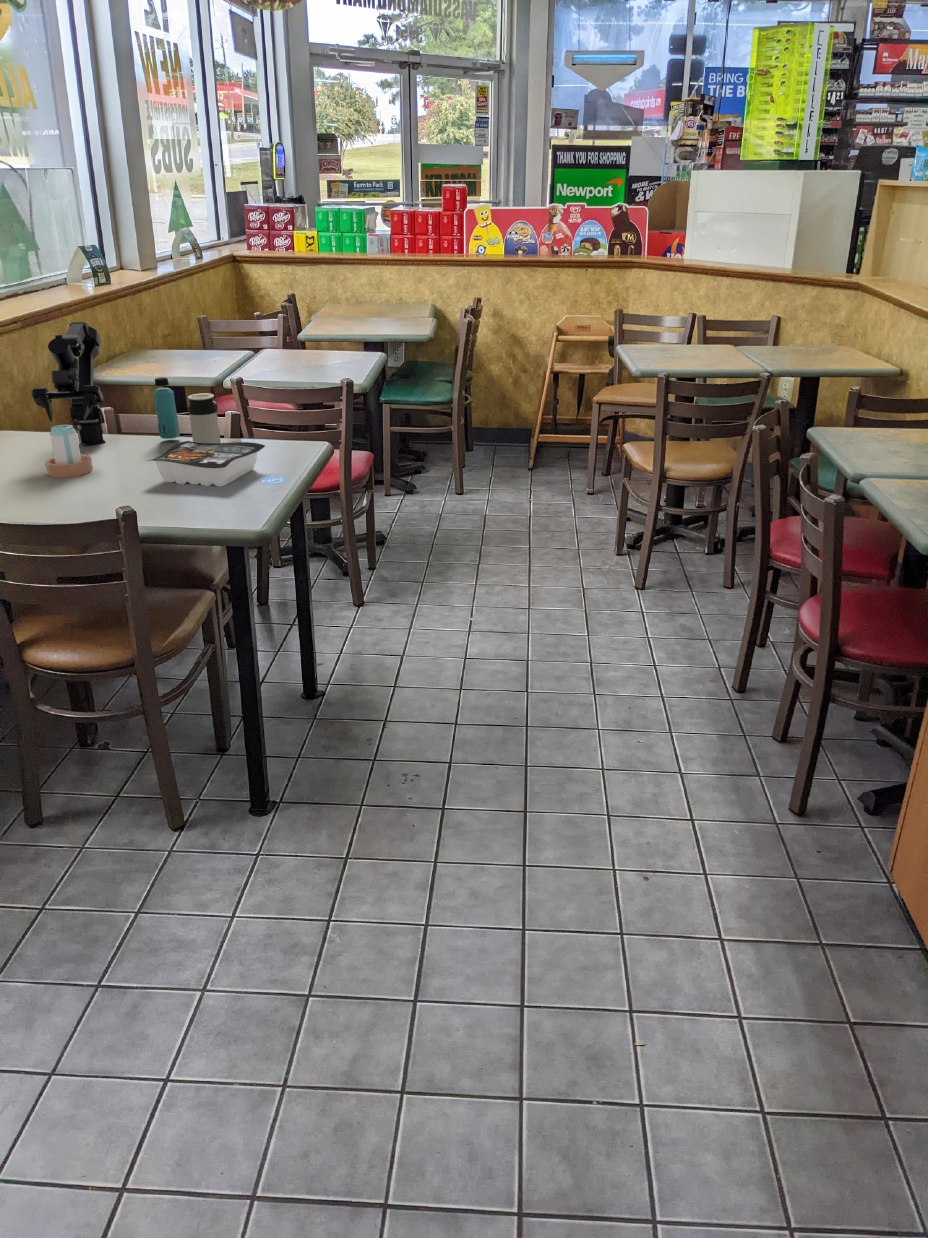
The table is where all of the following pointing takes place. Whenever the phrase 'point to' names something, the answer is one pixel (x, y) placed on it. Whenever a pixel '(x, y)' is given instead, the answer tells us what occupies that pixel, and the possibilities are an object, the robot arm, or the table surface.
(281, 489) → the table surface
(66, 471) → the bowl
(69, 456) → the can
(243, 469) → the food packaging
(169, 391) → the beverage bottle
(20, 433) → the table surface
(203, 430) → the travel mug
